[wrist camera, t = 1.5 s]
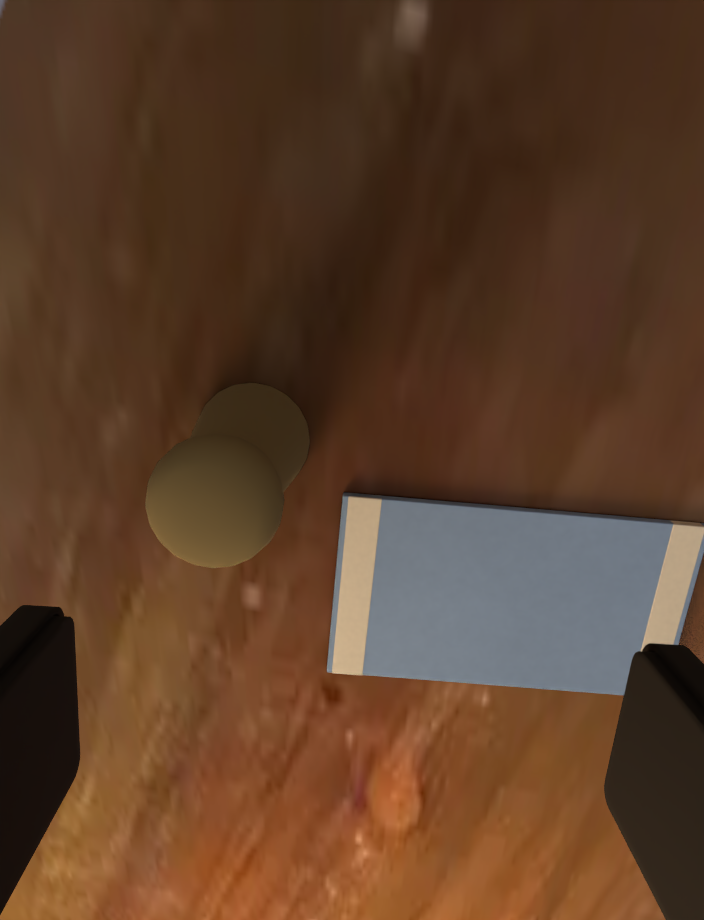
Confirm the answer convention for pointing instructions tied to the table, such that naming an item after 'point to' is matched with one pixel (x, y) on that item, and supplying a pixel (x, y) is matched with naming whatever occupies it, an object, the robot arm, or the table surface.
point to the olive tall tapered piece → (228, 477)
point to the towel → (505, 592)
